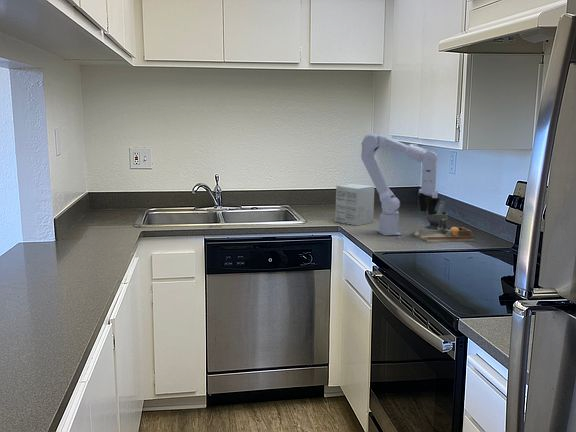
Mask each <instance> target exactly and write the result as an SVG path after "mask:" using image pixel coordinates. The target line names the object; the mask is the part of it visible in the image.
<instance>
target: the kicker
mask: <svg viewBox="0 0 576 432" xmlns="http://www.w3.org/2000/svg"><path fill="white" fill-rule="evenodd" d="M436 230H444V231H446V236H451V234H452V232H451V230H450V229H448V220H447V219H443V218H441V219H439V226H438V227H437V229H436Z"/></svg>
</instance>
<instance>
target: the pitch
mask: <svg viewBox="0 0 576 432" xmlns="http://www.w3.org/2000/svg"><path fill="white" fill-rule="evenodd" d="M452 227H453V226H451V227H450V229H451V228H452ZM457 228H458V229H459V231H458V235H457V236H452V235H451V236H446V231H444V230H439V229H419V230H418V231H412V235H414V236H416V237H418V238H420V239H421V240H424V241H425V242H427V243H451V242H453V243H455V242H457V243H459V242H474V241H475V236H474V235H472V230H470V229H468V228H466V227H463V226H457Z"/></svg>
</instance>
